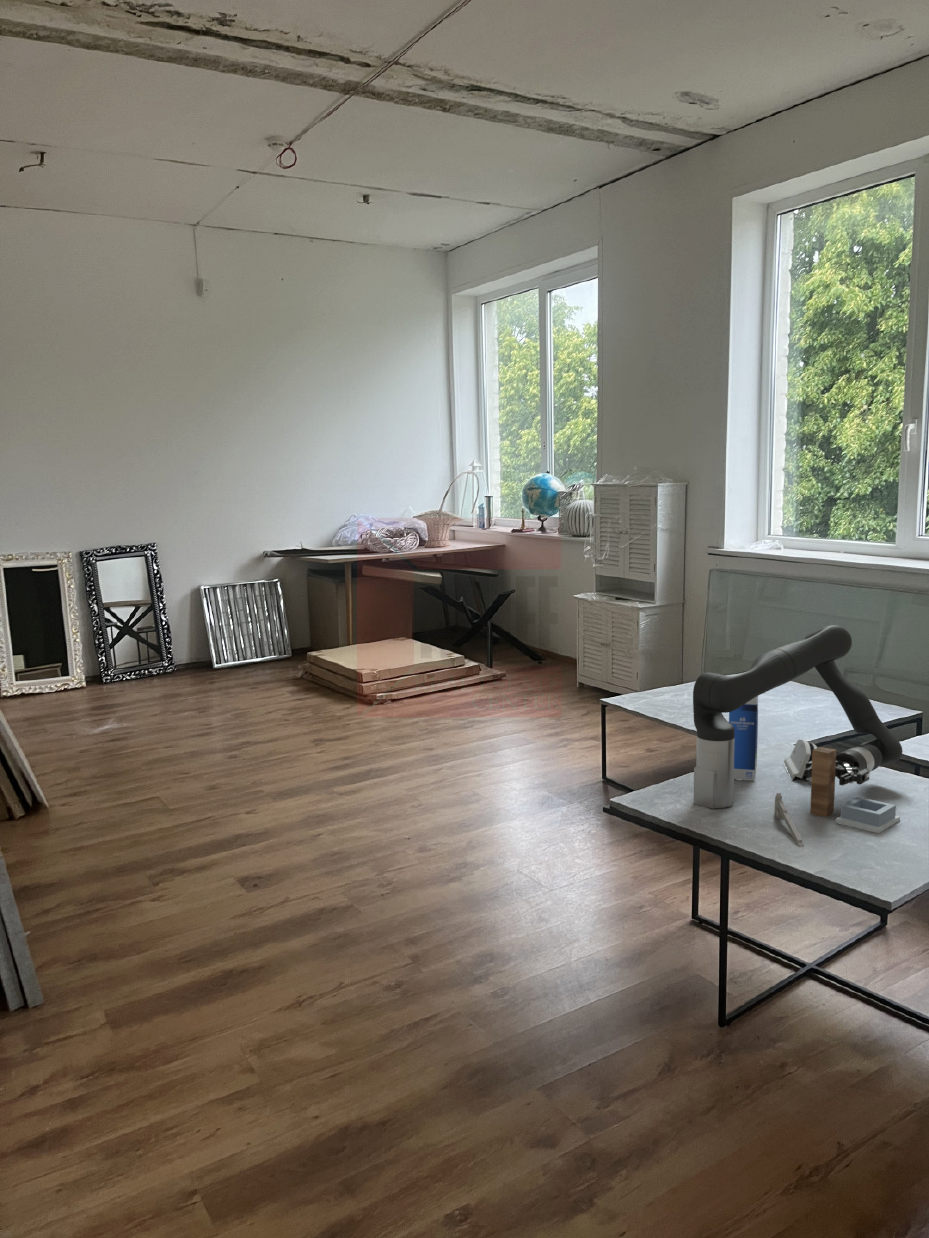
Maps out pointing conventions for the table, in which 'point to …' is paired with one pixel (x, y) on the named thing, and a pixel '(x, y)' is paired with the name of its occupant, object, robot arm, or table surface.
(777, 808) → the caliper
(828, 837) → the table surface
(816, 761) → the walnut rail
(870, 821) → the base
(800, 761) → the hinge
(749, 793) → the table surface
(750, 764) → the string lights box
